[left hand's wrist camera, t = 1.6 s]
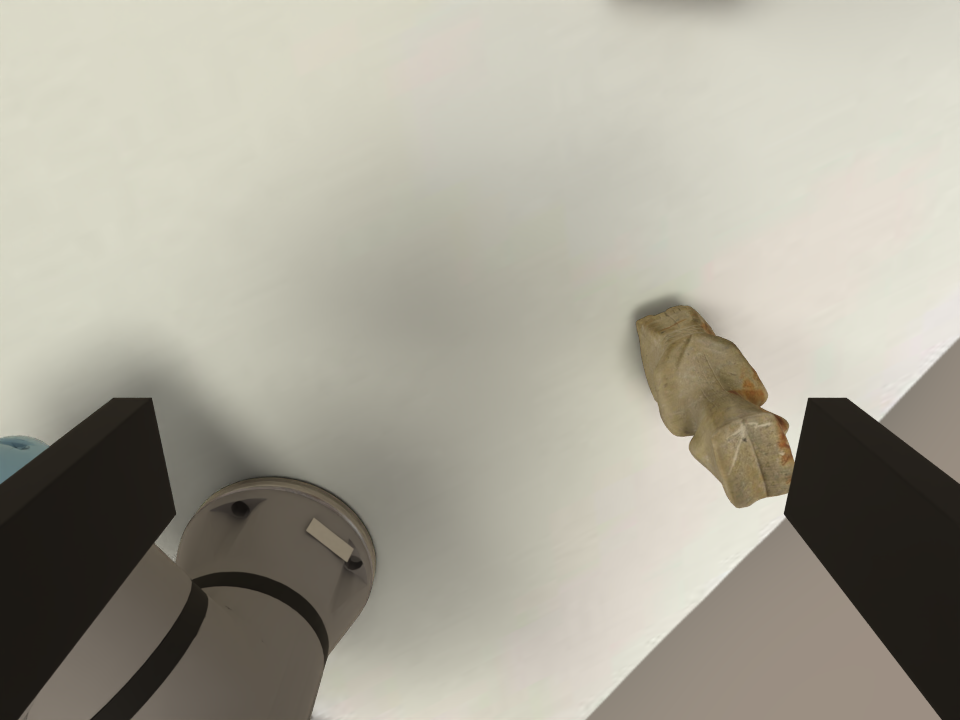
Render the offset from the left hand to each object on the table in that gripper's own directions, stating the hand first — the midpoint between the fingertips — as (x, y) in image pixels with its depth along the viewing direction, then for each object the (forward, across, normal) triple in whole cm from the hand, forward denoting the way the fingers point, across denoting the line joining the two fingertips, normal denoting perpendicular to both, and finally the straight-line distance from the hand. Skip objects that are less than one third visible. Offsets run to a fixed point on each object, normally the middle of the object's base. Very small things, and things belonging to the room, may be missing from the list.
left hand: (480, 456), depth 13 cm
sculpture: (+30, -13, +8) cm, 34 cm away
